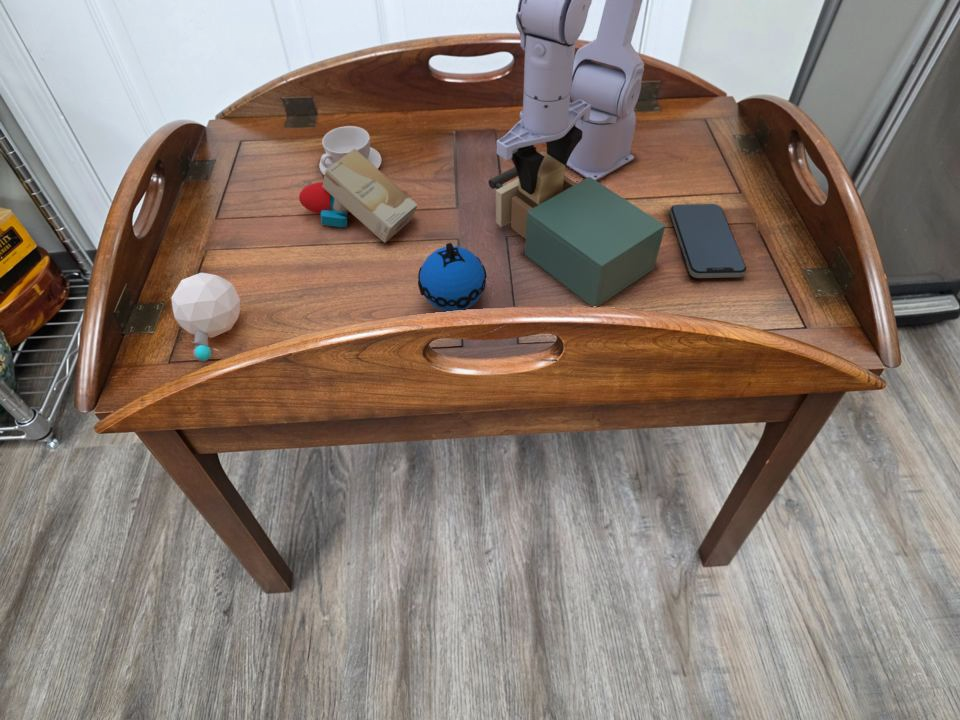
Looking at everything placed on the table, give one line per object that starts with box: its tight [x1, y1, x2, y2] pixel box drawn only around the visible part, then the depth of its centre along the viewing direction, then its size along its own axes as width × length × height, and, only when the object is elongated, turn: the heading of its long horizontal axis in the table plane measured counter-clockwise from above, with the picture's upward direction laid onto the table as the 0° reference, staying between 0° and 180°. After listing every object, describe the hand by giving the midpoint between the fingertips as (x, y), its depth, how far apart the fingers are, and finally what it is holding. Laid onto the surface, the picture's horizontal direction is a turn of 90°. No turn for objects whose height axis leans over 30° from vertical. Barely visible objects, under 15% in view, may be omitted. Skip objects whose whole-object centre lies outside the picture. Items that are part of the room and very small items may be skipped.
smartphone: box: [669, 203, 747, 279], centre depth 91 cm, size 8×2×15 cm
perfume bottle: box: [170, 272, 241, 362], centre depth 80 cm, size 8×8×12 cm
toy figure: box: [298, 181, 351, 228], centre depth 96 cm, size 8×5×15 cm
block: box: [517, 150, 566, 205], centre depth 88 cm, size 4×4×4 cm
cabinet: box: [524, 177, 666, 307], centre depth 87 cm, size 14×12×8 cm
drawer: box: [487, 166, 577, 240], centre depth 91 cm, size 17×10×6 cm, turn 39°
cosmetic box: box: [322, 149, 418, 244], centre depth 92 cm, size 6×4×12 cm
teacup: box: [318, 125, 382, 176], centre depth 103 cm, size 10×10×5 cm
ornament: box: [417, 242, 487, 312], centre depth 81 cm, size 9×9×10 cm
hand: (541, 183), depth 89 cm, fingers closed on block, 4 cm apart
